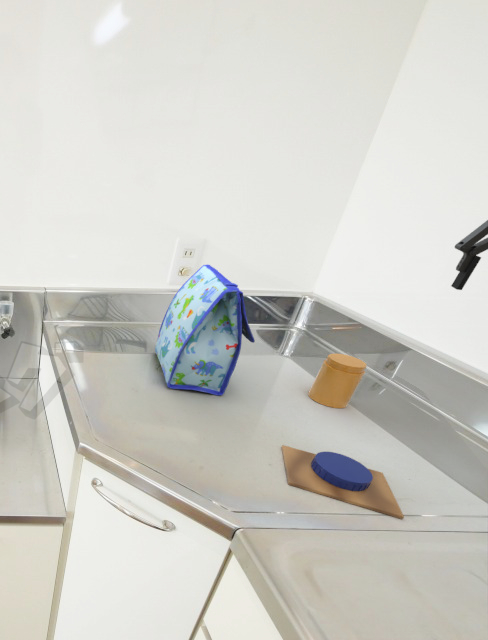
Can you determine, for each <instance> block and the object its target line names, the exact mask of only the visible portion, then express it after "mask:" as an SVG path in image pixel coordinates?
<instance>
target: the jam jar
mask: <svg viewBox="0 0 488 640" xmlns="http://www.w3.org/2000/svg"><path fill="white" fill-rule="evenodd" d="M366 369H367V363H366V362H364V361H363V360H362V359H359V358H358V357H355V356H351V355H348V354H344V353H329V354H328V355H327V357H326V359H324V360H323V362H322V364H321V366H320V367H319V370H318V372H317V374H316V376H315V378H314V380H313V382H312V384H311V386H310V389H309V390H308V392H307V395H308V397H309V398H310V399H311V400H312V401H314V402H315V403H318V404H320V405H322V406H326V407H328V408H334V409H345V408H346V407H348V405H349V403H350V402H351V400H352V398H353V396H354V395H355V393H356V390H357V388H358V387H359V385H360V383H361V381H362V379H363V378H364V376H365V374H366V371H365V370H366Z"/></svg>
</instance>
